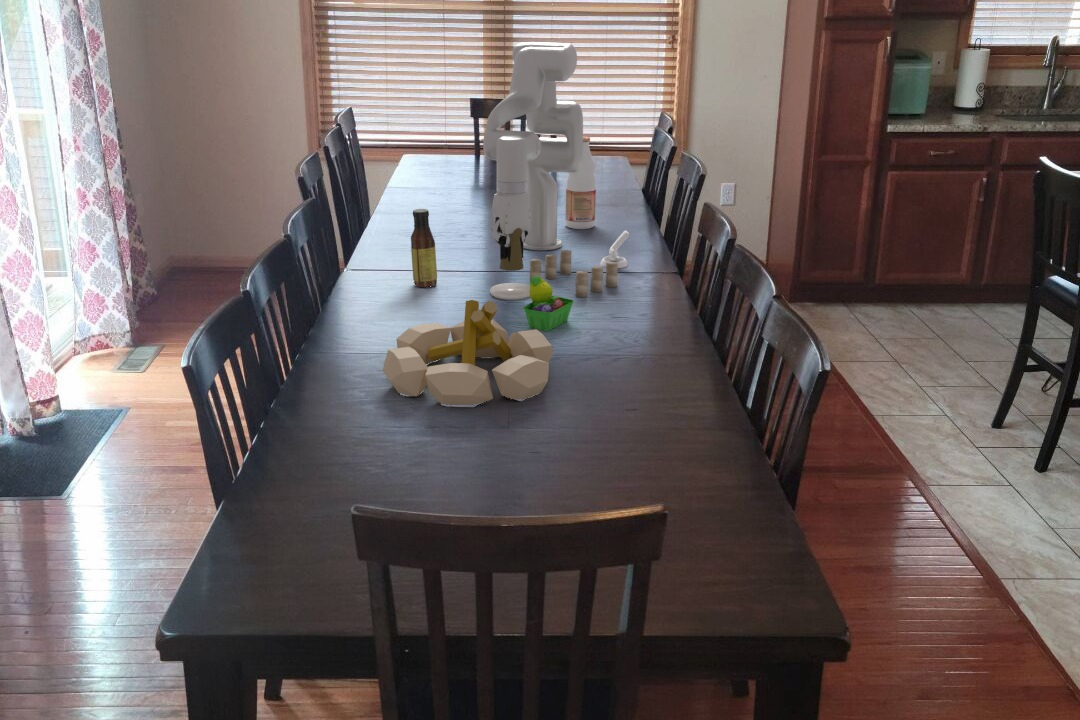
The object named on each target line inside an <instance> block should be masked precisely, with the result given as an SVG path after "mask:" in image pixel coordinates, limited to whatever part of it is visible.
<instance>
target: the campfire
mask: <svg viewBox="0 0 1080 720" xmlns="http://www.w3.org/2000/svg"><path fill="white" fill-rule="evenodd" d="M464 309H465V310H464V320H463V321H461V322H459V323H457V324H455V325H452V326H451V327H450V326H447V325H444V324H441V323H439V322H435V323H433V322H432V323H420V324H418V325H417V324H416V325H415V326H412V327H409V328H407V329H406V330H404V332H402V333H401V334H400V335H399V336H398V337H397V338H396V339H395V340H396V345H397V346H396V347H397V348H389V349H387V352H386V357H385V360H384V363H383V367H382V372H383V374H384V375H385V377H386V378H387V379H388V381H389V382H390V384H391V385H392V386H393V387H394V389H395V391H396V392H397V393H398V394H399V393H402V394H405V395H409V396H408V397H418V396H420V393H421V392H422V391H423V390H424V391H425V390H426V388H427V389H428V394H429V395H430V396H432V397H433V398H434V399H435V401H436V402H437V403H439V402H440V403H442V404H446V405H448V404H449V405H474V404H478V403H482V402H485V403H487V402H490V401H491V400H493V399H494V396H493V395H494V394H493V391H492V386H491V381H490V376H489V371H488V370H486V369H484V368H481V367H479V366H477V365H476V358H475V357H499V358H501V360H502V361H503V362H502V363H500V364H499V365H497V366H495V367H494V368H493V369H491V372H492V374H493V377H494V378H495V379H494V380H495V382H496V384H497V387H498V390H499V392H500V395H501V396H503V397H504V396H505V398H507V399H509V398H510V400H512V399H522V400H523V399H525V398H528V397H531V396H533V395H536V394H538V393H540V392H541V393H543V390H544V388H545V387H546V385H547V383H548V381H549V372H550V371H549V370H550V369H549V368H550V361H551V359H552V357H553V356H554V354H555V350H554V348H553V345H552V344H551V343H550V342H549V340H548V339H547V338H546V337H545V335H544V334H543V333H542V332H541V331H539V329H535V328H534V329H529V330H521V331H515V332H514V331H513V332H510V335H509V334H508V331H507V330H506V329H505V328H504V327H502V325H500V323H498V322H497V321H496V320H495V319H494V317H495V316H496V314H497V312H498V306H497V303H496V302H493V301H491V300H488V301H487V302H486V303H484V304H483V305H482V307H481V309H480V302H479V301H478V300H474V299H469V300H466V301H465V308H464ZM450 337H451V340H452V341H450V342H448V341H449V338H450ZM458 355H459V356H461V362H460V363H458V362H450V363H443V364H442V363H441V364H436V365H430V366H429V365H426V364H428V363H430V362H433V361H436V360H439V359H441V360H442V359H443V360H444V359H447V358H451V357H455V356H458ZM486 401H487V402H486ZM440 403H439V404H440Z"/></svg>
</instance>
